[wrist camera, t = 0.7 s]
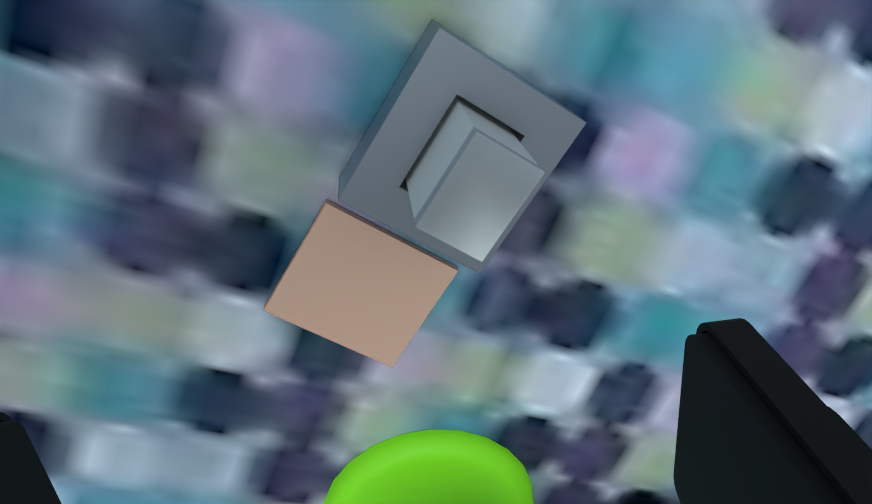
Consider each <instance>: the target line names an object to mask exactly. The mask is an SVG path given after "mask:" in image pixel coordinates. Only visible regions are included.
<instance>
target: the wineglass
mask: <svg viewBox="0 0 872 504" xmlns="http://www.w3.org/2000/svg"><path fill="white" fill-rule="evenodd" d="M324 504H534V501H533V489H532V482H531V480H530V478H529V476H528V474H527V472H526V470H525V468H524V465H523V464H522V463H521V462H520V461H519V460H518V459H517V458H516V457H515V456H514V455H513V454H512V453H511V452H510V451H509V450H508V449H507V448H505V447H503V446H501V445H499V444H497V443H496V442H494V441H492V440H490V439H488V438H487V437H483V436H480V435H476V434H472V433H468V432H464V431H460V430H435V429H429V430H424V431H418V432H412V433H407V434H401V435H398V436H396V437H393V438H391V439H388V440H386V441H383V442H381V443H378V444H376V445H373V446H372V447H370V448H369V449H367V450H366V451H364V452H363V453H361V454H360V455H359V456H357V457H356V458H354V459H353V460H351V461H350V462H349V463H348V464H347V465H346V467H345V468H344V469H343V470H342V471H341V472H340V473H339V475H338V476H337V477H336V478H335V479H334V480H333V483H332V485H331V487H330V489H329V491H328V494H327V496H326V498H325V500H324Z"/></svg>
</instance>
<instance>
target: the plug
mask: <svg viewBox="0 0 872 504" xmlns="http://www.w3.org/2000/svg"><path fill="white" fill-rule="evenodd" d="M544 173H545V172H544V171H543V169H542V168H541V167H540V166H539V165H538V164H537V163H536V161H535V160H534V159H533V158H532V156H531V155H530V154H529V153H528V151H527V150H526V149H525V148H524V146H523V145H522V144H521V143H520V141H519V140H518V139H517V138H516V136H515V135H514V134H513V133H512V131H511V130H510V129H509V128H508V126H507V125H506V124H505V123H503V122H501V121H500V120H498V119H496V118H495V117H493V116H492V115H490V114H488V113H487V112H485V111H483V110H482V109H480V108H479V107H477V106H475V105H474V104H472V103H470V102H469V101H467V100H466V99H464V98H462V97H461V96H459V95H456V96H455V98H454V100H453V101H452V103H451V104H450V106H449V108H448V109H447V111H446V112H445V114H444V116H443V117H442V119H441V121H440V122H439V124H438V125H437V127H436V129H435V130H434V132H433V133H432V135H431V137H430V138H429V140H428V141H427V143H426V145H425V146H424V148H423V150H422V151H421V153H420V154H419V156H418V158H417V159H416V161H415V162H414V164H413V166H412V167H411V169H410V170H409V172H408V174H407V175H406V177H405V178H406V183H407V188H408V192H409V197H410V202H411V206H412V211H413V216H414V223H415V227H416V228H418V229H420V230H422V231H424V232H426V233H427V234H429V235H431V236H433V237H435V238H437V239H439V240H441V241H443V242H445V243H446V244H448V245H450V246H452V247H454V248H456V249H458V250H460V251H462V252H464V253H465V254H467V255H469V256H471V257H473V258H475V259H477V260H479V261H481V262H483V260H484V259H485V257H486V256H487V255H488V253H489V252H490V250H491V249H492V247H493V246H494V245H495V243H496V242H497V240H498V239H499V237H500V236H501V235H502V233H503V232H504V230H505V229H506V227H507V226H508V225H509V223H510V222H511V220H512V219H513V217H514V216H515V215H516V213H517V212H518V210H519V209H520V207H521V206H522V205H523V203H524V202H525V200H526V199H527V197H528V196H529V195H530V193H531V192H532V190H533V189H534V187H535V186H536V185H537V183H538V182H539V180H540V179H541V177H542V176H543V175H544Z"/></svg>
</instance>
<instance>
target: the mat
mask: <svg viewBox="0 0 872 504" xmlns="http://www.w3.org/2000/svg"><path fill="white" fill-rule="evenodd" d="M457 272H458V269H457V266H455V265H453V264H451V263H449V262H447V261H445V260H443V259H441V258H439V257H437V256H435V255H433V254H431V253H430V252H428V251H426V250H424V249H422V248H420V247H418V246H416V245H414V244H412V243H410V242H408V241H406V240H404V239H402V238H400V237H398V236H397V235H395V234H393V233H391V232H389V231H387V230H385V229H383V228H381V227H379V226H377V225H375V224H373V223H371V222H369V221H367V220H365V219H364V218H362V217H360V216H358V215H356V214H354V213H352V212H350V211H348V210H346V209H344V208H342V207H340V206H338V205H336V204H334V203H332V202H331V201H329V200H326V201H325V203H324V205H323V206H322V208H321V210H320V212H319V213H318V215H317V217H316V218H315V220H314V222H313V224H312V225H311V227H310V229H309V230H308V232H307V234H306V236H305V237H304V239H303V241H302V242H301V244H300V246H299V248H298V249H297V251H296V253H295V254H294V256H293V258H292V260H291V261H290V263H289V265H288V266H287V268H286V270H285V272H284V273H283V275H282V277H281V278H280V280H279V282H278V284H277V285H276V287H275V289H274V290H273V292H272V294H271V296H270V297H269V299H268V301H267V302H266V304H265V306H264V310H263V311H265V312H267V313H270V314H272V315H274V316H276V317H279V318H281V319H283V320H286V321H288V322H290V323H292V324H295V325H297V326H299V327H301V328H304V329H306V330H308V331H311V332H313V333H315V334H317V335H320V336H322V337H324V338H326V339H329V340H331V341H333V342H336V343H338V344H340V345H342V346H345V347H347V348H349V349H351V350H354V351H356V352H358V353H361V354H363V355H365V356H367V357H370V358H372V359H374V360H376V361H379V362H381V363H383V364H386V365H388V366H390V367H392V366H393V365H394V364H395V362H396V361H397V359H398V358H399V356H400V355H401V353H402V352H403V350H404V349H405V348H406V346H407V345H408V343H409V342H410V340H411V339H412V337H413V336H414V334H415V333H416V332H417V330H418V329H419V327H420V326H421V324H422V323H423V321H424V320H425V319H426V317H427V316H428V314H429V313H430V311H431V310H432V308H433V307H434V305H435V304H436V303H437V301H438V300H439V298H440V297H441V295H442V294H443V292H444V291H445V290H446V288H447V287H448V285H449V284H450V282H451V281H452V279H453V278H454V276H455V275H456V274H457Z"/></svg>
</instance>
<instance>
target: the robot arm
mask: <svg viewBox="0 0 872 504" xmlns="http://www.w3.org/2000/svg"><path fill="white" fill-rule="evenodd" d="M674 484H675V488H676V492H677V495H678V498H679V500H680V502H681V504H872V450H871V448H870V447H869V446H868V445H867V444H866V443H865V442H864V441H863V440H862V439H861V438H860V437H859V436H858V435H857V434H856V432H855V431H854V430H853V429H852V428H851V427H850V426H849V425H848V424H847V423H846V422H845V421H844V420H843V419H842V418H841V417H840V415H838V414H837V413H836V412H835V411H834V410H832V409H831V408H830V407H827V406H826V405H825V404H824V403H823V401H822V400H821V399H820V398H819V397H818V396H817V395H816V394H815V393H814V392H813V391H812V390H811V389H810V388H809V386H808V385H807V384H806V383H805V382H804V381H803V380H802V379H801V378H800V377H799V376H798V375H797V374H796V372H795V371H794V370H793V369H792V368H791V367H790V366H789V365H788V364H787V363H786V362H785V361H784V360H783V359H782V357H781V356H780V355H779V354H778V353H777V352H776V351H775V350H774V349H773V348H772V347H771V346H770V345H769V343H768V342H767V341H766V340H765V339H764V338H763V337H762V336H761V335H760V334H759V333H758V332H757V331H756V330H755V328H754V327H753V326H752V325H751V324H750V323H749V322H748V321H746V320H745V319H741V318H738V319H730V320H722V321H714V322H706V323H702V324H700V325H699V327H698V328H697V332H696V334H693V335H689V336H688V337H687V339H686V342H685V350H684V361H683V373H682V384H681V396H680V407H679V418H678V430H677V441H676V453H675V464H674ZM0 504H61V502H60V500H59V498H58V496H57V494H56V492H55V489H54V487H53V485H52V483H51V481H50V479H49V477H48V475H47V473H46V471H45V469H44V467H43V465H42V463H41V461H40V459H39V457H38V455H37V453H36V451H35V449H34V447H33V445H32V443H31V441H30V439H29V437H28V435H27V433H26V431H25V429H24V427H23V426H22V424H21V423H19V422H18V421H12V420H11V419H10V417H9V416H8V415H6V414H5V413H3V412H0Z"/></svg>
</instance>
